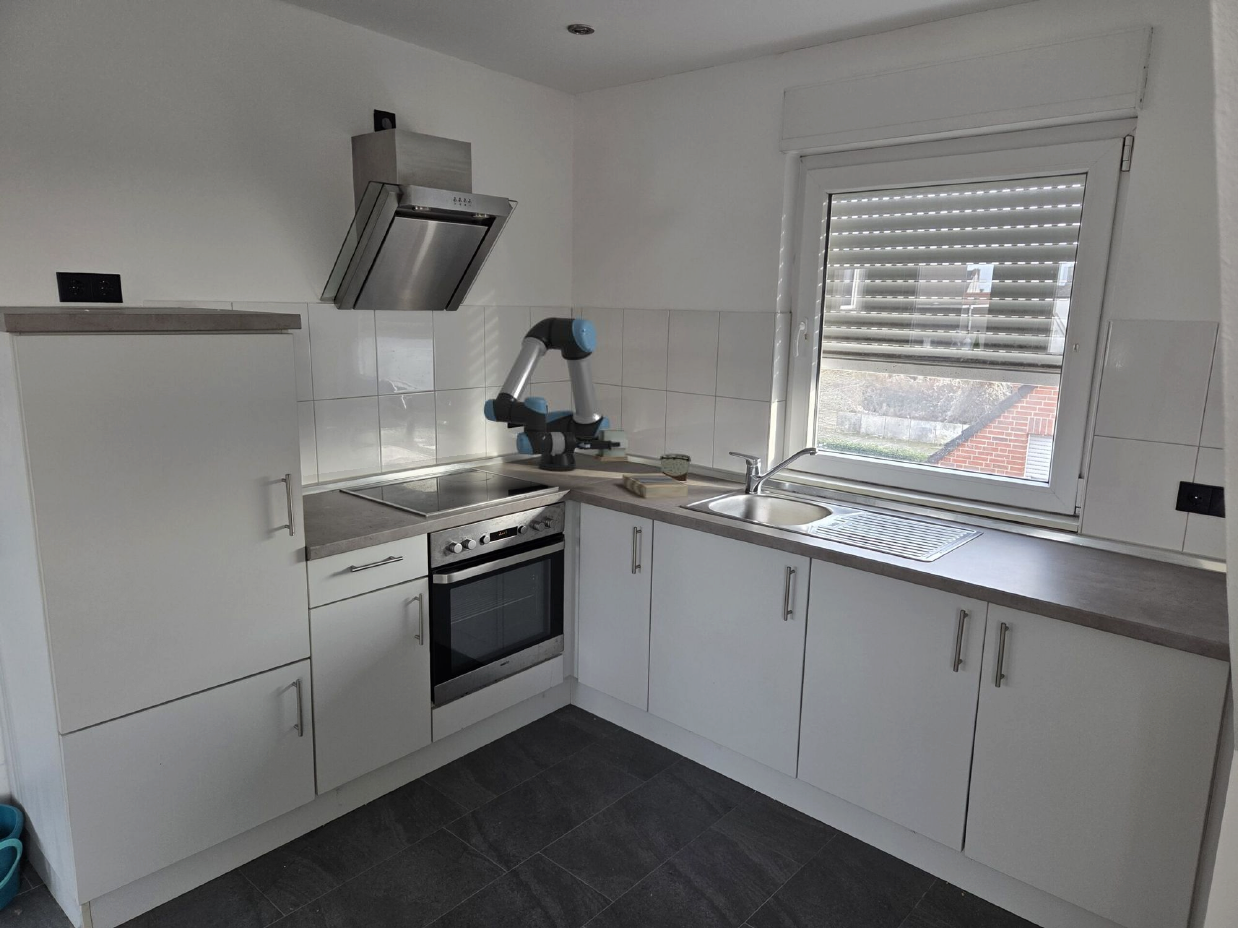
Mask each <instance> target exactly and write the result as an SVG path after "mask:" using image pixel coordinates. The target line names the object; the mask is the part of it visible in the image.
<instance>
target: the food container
mask: <svg viewBox="0 0 1238 928" xmlns="http://www.w3.org/2000/svg"><path fill="white" fill-rule="evenodd" d="M659 461H660V468H661V469H660V470H661V471H660V473H662V474H665V475H667V476H669V477H671V478H673V479H675V480H677V481H686V482H687V480H688V474H689V467H690V463H692V458H691V456H690V455H687V454H683V453H662V454H660V456H659Z"/></svg>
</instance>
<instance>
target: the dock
mask: <svg viewBox="0 0 1238 928" xmlns="http://www.w3.org/2000/svg"><path fill="white" fill-rule="evenodd" d="M621 478H622V480H621V485H622V486H623V487H625V488H627V489H628V490H630V491H632V492H633V493H635V494H637V495H639V496H641V497H642V498H644V499H664V498H665V499H666V498H684V497H687V498H688V491H689V490H688V489H689V485H688V484H686V483H685V482H679V481H677V480H675V479H673V478H671V477H669V476H667V475H665V474H662V473H661V472H657V473H656V472H655V473H625V474H622V477H621Z"/></svg>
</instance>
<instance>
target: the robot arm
mask: <svg viewBox="0 0 1238 928" xmlns="http://www.w3.org/2000/svg"><path fill="white" fill-rule="evenodd" d="M597 339H598V335H597V331H596V328H595V325H594V324H593V322H591V321H590V320H589V319H586V318H585V319H584V318H583V319H582V318H580V317H579V318H578V317H576V318H574V317H573V318H571V317H555V316H552V317H546V318H544V319H542V320H540V321H538V322H537V323H536V324H534V325H533V326H532V327H531V328H530V329H529V330H528V331H527V333H526V334H525V335H524V336H523V339H522V342H521V347H522V348H521V349H520V351H519V353H518V355H517V357H516V358H515V361H514V362H513V365H512V367H511V369H510V371H509V373H508V375H507V377H506V378H505V381H504V383H503V384H502V387H501V388H500V390H499V392H498V394H497V396H496V398H492V399H491V398H489V399H488V400H486V401H485V403H484V406H483V414H484V418H485V419H486V420H488V421H490V422H495V423H507V424H515V425H523V431H522V432H518V433H517V435H516V441H515V444H516V445H515V446H516V450H517V453H518V454H520V455H525V456H526V455H528V456H530V455H531V456H534V455H535V456H537V455H538V456H539V455H540V457H539V460H538V469H541V470H545V471H551V472H552V471H553V472H563V471H564V472H567V471H573V470H576V468H577V462H576V458H575V454H574V452H575V450H576V449H578V450H584V451H587V450H598V449H609V450H611V448H625V449H628V448H629V440H628V439H626V440H610V441H599V440H598V438H599V429H611V428H610V427H611V422H610V419H609V418H608V417H607V416H605V417H604V415H603V411H602V409H600V408H599V407H598V400H597V397H596V396H597V395H596V388H595V383H594V376H593V371H592V369H593V368H592V364H591V358H590V357H591V355H592V354H593V353H594V352H593V351H594V350H595V349H596V347H597V343H598V342H597ZM549 350H559V351H560V353H561V354H560V355H561V358H562V359H564V360H565V361H566V364H567V368H568V374H569V381H570V386H571V391H572V396H573V402H574V409H575V412H574V410H572V409H571V410H570V409H567V410H566V409H563V410H554V411H549V412H548V410H547V400H546V399H545V398H544V397H539V396H526V397H524V401H520V400H521V399H522V396H523V394H524V392H525V390H526V388H527V386H528V383H529V382H530V380H531V378H532V377H533V374H534V371H535V370H536V368H537V366H538V364H539V362H540V360H541V359H542V357H544V356H545V355H546V354H547V352H548V351H549Z"/></svg>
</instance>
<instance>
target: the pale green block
mask: <svg viewBox="0 0 1238 928" xmlns="http://www.w3.org/2000/svg"><path fill="white" fill-rule="evenodd" d="M598 440H599V441H610V440H627V431H626V430H624V429H621V428H610V429H599V438H598ZM594 459H595V460H598V461H599V462H624V461H625V462H628V460H629V459H628V456H627V455H626V448H611V450H609V449H597V453H595V454H594Z"/></svg>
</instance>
